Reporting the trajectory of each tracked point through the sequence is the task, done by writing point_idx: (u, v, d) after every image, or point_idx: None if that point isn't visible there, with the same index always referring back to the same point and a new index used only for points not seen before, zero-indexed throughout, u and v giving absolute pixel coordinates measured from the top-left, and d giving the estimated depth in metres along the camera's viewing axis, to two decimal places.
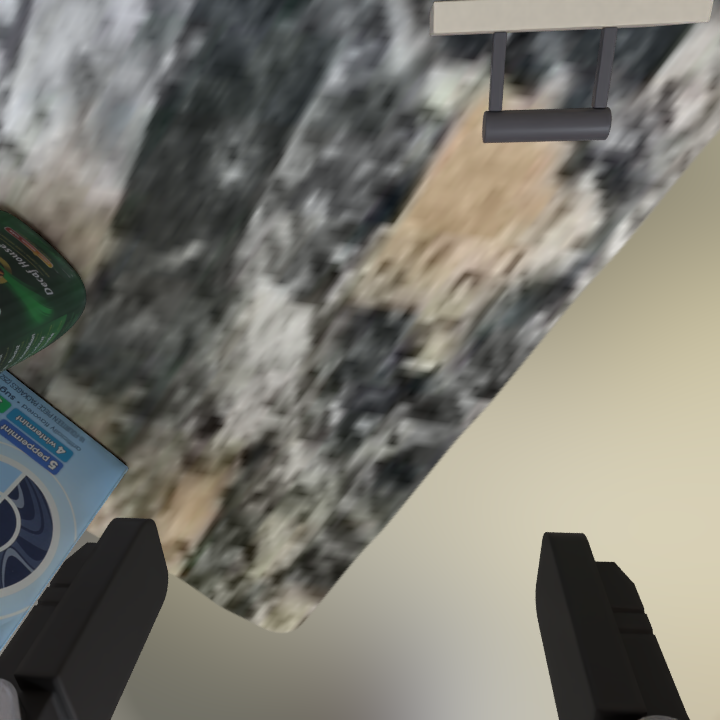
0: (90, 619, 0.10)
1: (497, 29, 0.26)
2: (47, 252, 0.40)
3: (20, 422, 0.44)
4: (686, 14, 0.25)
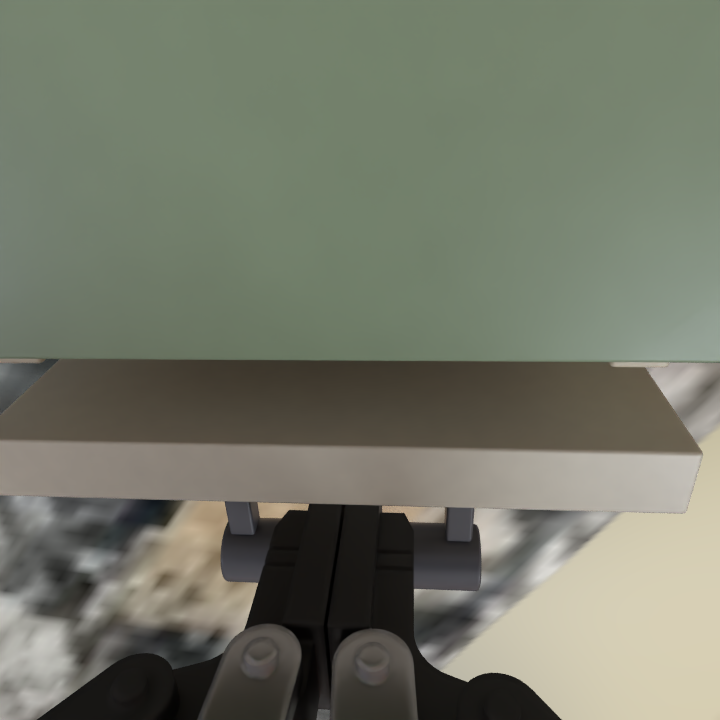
0: (332, 575, 0.11)
1: (148, 497, 0.10)
2: None
3: None
4: (626, 499, 0.09)
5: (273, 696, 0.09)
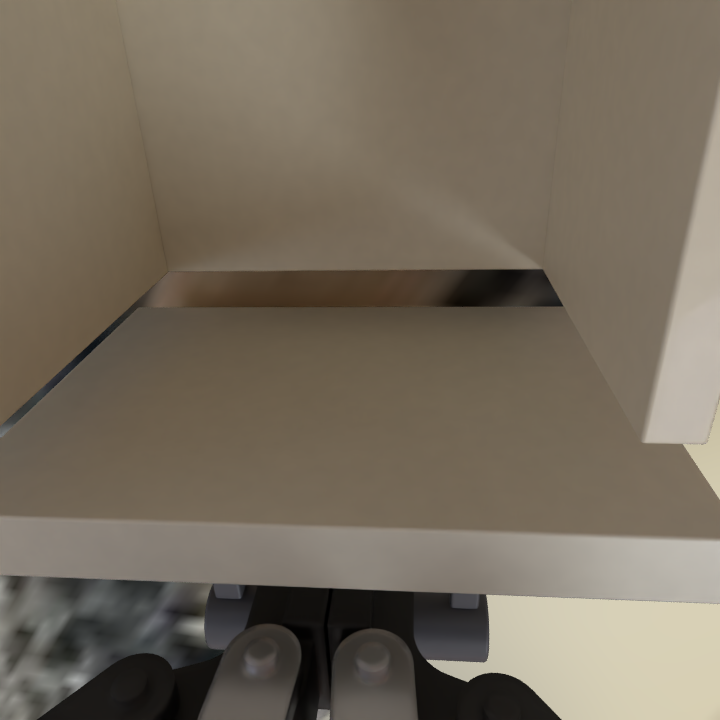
0: None
1: (117, 578, 0.09)
2: None
3: None
4: (656, 588, 0.08)
5: (273, 696, 0.09)
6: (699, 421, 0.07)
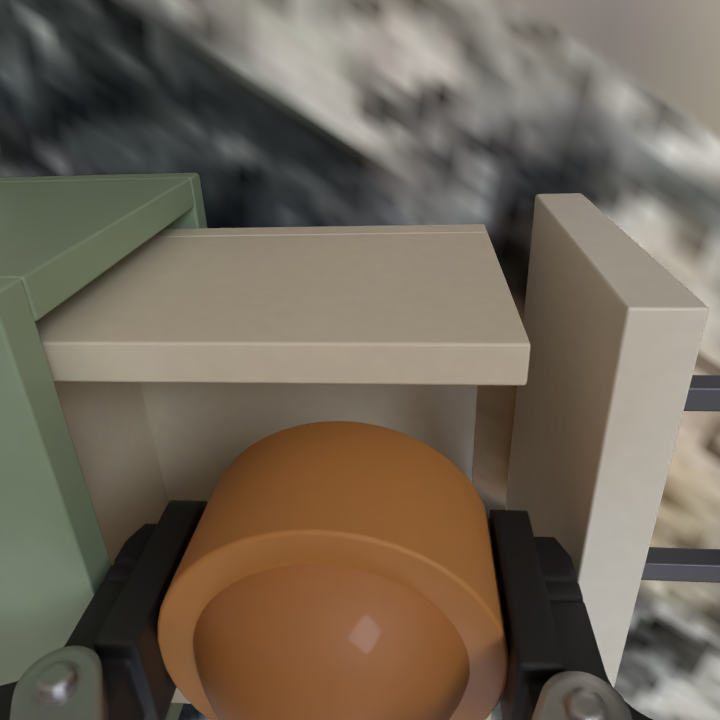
0: (160, 593, 0.10)
1: (614, 680, 0.13)
2: None
3: None
4: (677, 365, 0.09)
5: (82, 707, 0.08)
6: (508, 353, 0.10)
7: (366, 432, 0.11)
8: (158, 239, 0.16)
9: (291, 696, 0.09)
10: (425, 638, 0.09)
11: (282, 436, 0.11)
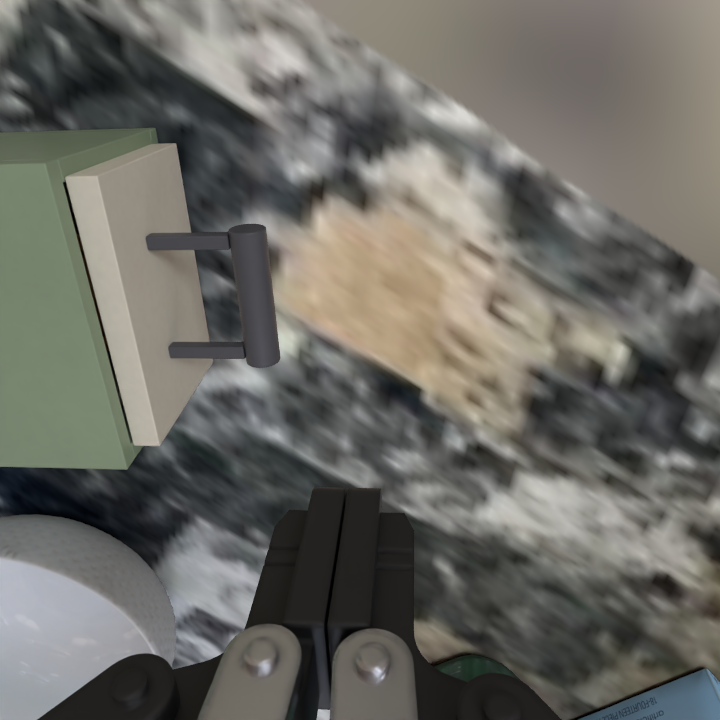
0: (332, 575, 0.11)
1: (146, 392, 0.25)
2: None
3: None
4: (95, 204, 0.21)
5: (273, 696, 0.09)
6: None
7: None
8: None
9: None
10: None
11: None
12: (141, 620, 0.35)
